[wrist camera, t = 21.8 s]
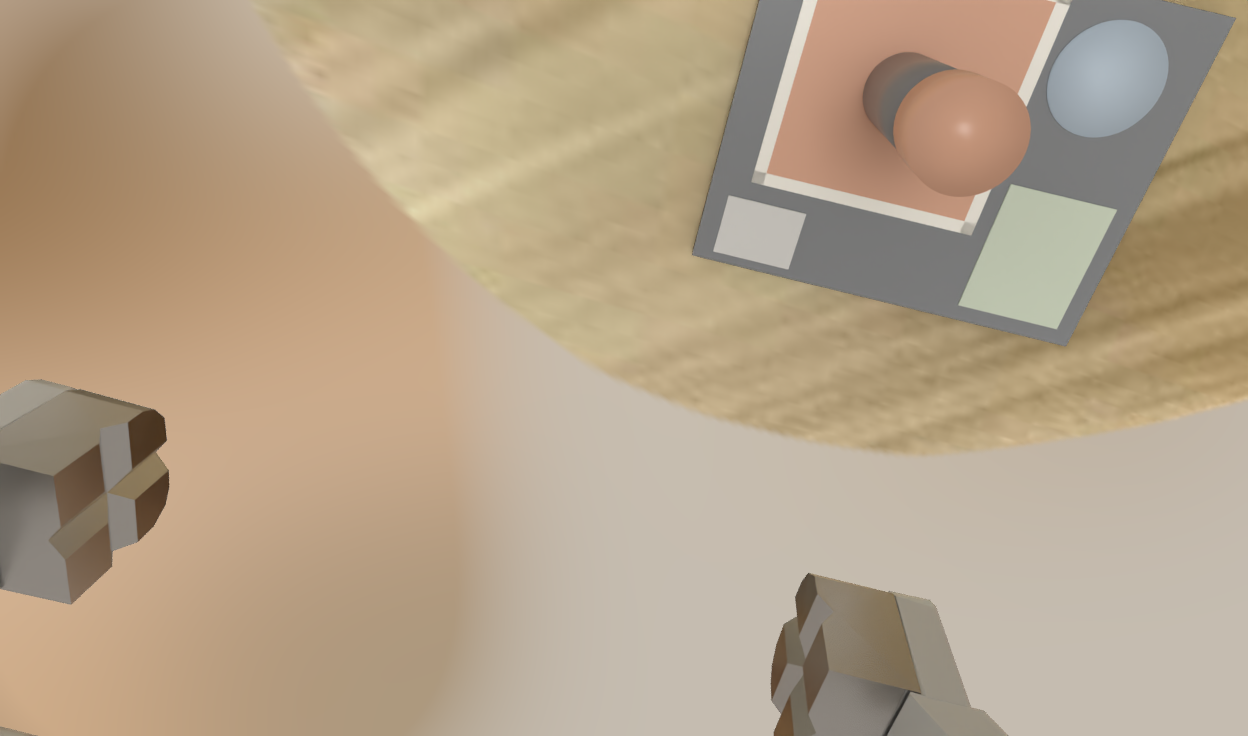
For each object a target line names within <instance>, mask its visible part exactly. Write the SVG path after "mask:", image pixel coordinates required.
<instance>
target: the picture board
mask: <svg viewBox="0 0 1248 736" xmlns="http://www.w3.org/2000/svg"><path fill="white" fill-rule="evenodd" d="M1235 19H1236V18H1233V17H1229V16H1225V15H1221V14H1217V13H1213V12H1208V11H1204V10H1200V9H1196V8H1192V7H1187V6H1183V5H1179V4H1175V3H1171V2H1166V1H1162V0H759V2H758V6H757V10H756V14H755V17H754V21H753V25H752V29H751V32H750V36H749V40H748V44H747V48H746V51H745V55H744V59H743V63H742V67H741V70H740V74H739V78H738V82H737V85H736V89H735V93H734V97H733V101H732V104H731V108H730V112H729V116H728V119H727V123H726V127H725V131H724V135H723V138H722V142H721V146H720V150H719V153H718V157H717V161H716V165H715V169H714V172H713V176H712V180H711V184H710V188H709V191H708V195H707V199H706V203H705V206H704V210H703V214H702V218H701V222H700V225H699V229H698V233H697V237H696V240H695V244H694V248H693V253H692V255H693V256H698V257H702V258H706V259H710V260H714V261H718V262H722V263H726V264H730V265H734V266H739V267H743V268H747V269H751V270H755V271H759V272H763V273H767V274H771V275H775V276H780V277H784V278H788V279H792V280H796V281H800V282H804V283H808V284H812V285H816V286H820V287H825V288H829V289H833V290H837V291H841V292H845V293H849V294H853V295H857V296H861V297H866V298H870V299H874V300H878V301H882V302H886V303H890V304H894V305H898V306H902V307H907V308H911V309H915V310H919V311H923V312H927V313H931V314H935V315H939V316H943V317H948V318H952V319H956V320H960V321H964V322H968V323H972V324H976V325H980V326H984V327H988V328H993V329H997V330H1001V331H1005V332H1009V333H1013V334H1017V335H1021V336H1025V337H1029V338H1034V339H1038V340H1042V341H1046V342H1050V343H1054V344H1058V345H1062V346H1066V345H1067V343H1068V342H1069V340H1070V338H1071V336H1072V334H1073V332H1074V330H1075V328H1076V326H1077V324H1078V322H1079V320H1080V318H1081V316H1082V315H1083V313H1084V311H1085V309H1086V307H1087V305H1088V303H1089V301H1090V299H1091V297H1092V295H1093V293H1094V291H1095V289H1096V287H1097V286H1098V284H1099V282H1100V280H1101V278H1102V276H1103V274H1104V272H1105V270H1106V268H1107V266H1108V264H1109V262H1110V260H1111V259H1112V257H1113V255H1114V253H1115V251H1116V249H1117V247H1118V245H1119V243H1120V241H1121V239H1122V237H1123V235H1124V233H1125V232H1126V230H1127V228H1128V226H1129V224H1130V222H1131V220H1132V218H1133V216H1134V214H1135V212H1136V210H1137V208H1138V206H1139V205H1140V203H1141V201H1142V199H1143V197H1144V195H1145V193H1146V191H1147V189H1148V187H1149V185H1150V183H1151V181H1152V179H1153V178H1154V176H1155V174H1156V172H1157V170H1158V168H1159V166H1160V164H1161V162H1162V160H1163V158H1164V156H1165V154H1166V152H1167V150H1168V149H1169V147H1170V145H1171V143H1172V141H1173V139H1174V137H1175V135H1176V133H1177V131H1178V129H1179V127H1180V125H1181V123H1182V122H1183V120H1184V118H1185V116H1186V114H1187V112H1188V110H1189V108H1190V106H1191V104H1192V102H1193V100H1194V98H1195V96H1196V95H1197V93H1198V91H1199V89H1200V87H1201V85H1202V83H1203V81H1204V79H1205V77H1206V75H1207V73H1208V71H1209V69H1210V68H1211V66H1212V64H1213V62H1214V60H1215V58H1216V56H1217V54H1218V52H1219V50H1220V48H1221V46H1222V44H1223V42H1224V41H1225V39H1226V37H1227V35H1228V33H1229V31H1230V29H1231V27H1232V25H1233V23H1234V21H1235ZM903 52H914V53H919V54H922V55H924V56H927V57H929V58H932V59H934V60H937V61H939V62H942V63H944V64H946V65H949V66H951V67H954V68H956V69H961V70H968V71H971V72H975V73H977V74H980V75H982V76H985V77H987V78H990V79H992V80H995V81H998V82H1000V83H1002V84H1004V85H1006V86H1008V87H1009V88H1011V89H1012V90H1014V91H1015V92H1016V93H1017V94H1018V95H1019V97H1020V98H1021V99H1022V100H1023V102H1024V104H1025V106H1026V108H1027V110H1028V113H1029V117H1030V123H1031V134H1030V140H1029V145H1028V148H1027V151H1026V153H1025V155H1024V157H1023V159H1022V161H1021V162H1020V164H1019V166H1018V167H1017V168H1016V169H1015V171H1014V172H1013V173H1012V174H1011V175H1010V176H1009V177H1008V178H1007V179H1006V180H1004V181H1003V182H1002V183H1001V184H999V185H998V186H996V187H994V188H993V189H991V190H988V191H986V192H984V193H981V194H978V195H973V196H967V197H953V196H947V195H943V194H940V193H938V192H936V191H934V190H932V189H930V188H929V187H927V186H926V185H925V184H924V183H923V182H922V181H921V180H920V179H919V178H918V177H917V176H916V174H915V173H914V172H913V171H912V170H911V169H910V168H909V167H908V166H907V164H906V163H905V162H904V161H903V160H902V158H901V157H900V155H899V154H898V151H897V149H896V148H895V147H894V146H893V145H892V144H891V143H890V142H889V141H888V139H887V138H886V137H885V136H884V135H883V134H882V133H881V132H880V131H879V130H878V129H877V128H876V126H875V125H874V124H873V123H872V122H871V121H870V120H869V118H868V117H867V115H866V112H865V110H864V106H863V90H864V86H865V83H866V81H867V79H868V77H869V75H870V74H871V72H872V71H873V69H874V68H875V67H876V66H877V65H878V64H879V63H880V62H882V61H883V60H885V59H886V58H888V57H890V56H892V55H895V54H898V53H903Z"/></svg>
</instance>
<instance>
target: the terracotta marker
mask: <svg viewBox="0 0 1248 736" xmlns="http://www.w3.org/2000/svg"><path fill="white" fill-rule="evenodd" d="M863 106H864V110H865V112H866V115H867V117H868V118H869V120H870V121H871V122H872V123H873V124H874V125H875V126H876V128H877V129H878V130H879V131H880V132H881V133H882V134H883V135H884V136H885V137H886V138H887V139H888V141H889V142H890V143H891V144H892V145H893V146H894V147H895V148H896V149H897V151H898V154H899V155H900V157H901V158H902V160H903V161H904V162H905V163H906V164H907V166H908V167H909V168H910V169H911V170H912V171H913V172H914V173H915V174H916V176H917V177H918V178H919V179H920V180H921V181H922V182H923V183H924V184H925V185H926V186H927V187H929V188H930V189H932V190H934V191H936V192H938V193H940V194H943V195H947V196H953V197H967V196H973V195H978V194H981V193H984V192H986V191H988V190H991V189H993V188H994V187H996V186H998V185H999V184H1001V183H1002V182H1003V181H1004V180H1006V179H1007V178H1008V177H1009V176H1010V175H1011V174H1012V173H1013V172H1014V171H1015V169H1016V168H1017V167H1018V166H1019V164H1020V162H1021V161H1022V159H1023V157H1024V155H1025V153H1026V151H1027V148H1028V145H1029V140H1030V134H1031V123H1030V117H1029V113H1028V110H1027V108H1026V106H1025V104H1024V102H1023V100H1022V99H1021V98H1020V97H1019V95H1018V94H1017V93H1016V92H1015V91H1014V90H1012V89H1011V88H1009V87H1008V86H1006V85H1004V84H1002V83H1000V82H998V81H995V80H992V79H990V78H987V77H985V76H982V75H980V74H977V73H975V72H971V71H968V70H961V69H956V68H954V67H951V66H949V65H946V64H944V63H942V62H939V61H937V60H934V59H932V58H929V57H927V56H924V55H922V54H919V53H914V52H903V53H898V54H895V55H892V56H890V57H888V58H886V59H885V60H883V61H882V62H880V63H879V64H878V65H877V66H876V67H875V68H874V69H873V71H872V72H871V74H870V75H869V77H868V79H867V81H866V83H865V86H864V90H863Z"/></svg>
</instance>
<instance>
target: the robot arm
mask: <svg viewBox="0 0 1248 736" xmlns="http://www.w3.org/2000/svg"><path fill="white" fill-rule="evenodd" d="M166 441H167V437H166V428H165V418H164V417H163V416H162V415H161V414H159V413H158V412H157V411H156V410H154V409H151V408H147V407H143V406H140V405H136V404H132V403H129V402H125V401H121V400H118V399H114V398H110V397H106V396H103V395H99V394H95V393H92V392H88V391H85V390H81V389H79V390H77V389H75V388H72V387H68V386H65V385H61V384H56V383H53V382H49V381H45V380H25V381H24V382H22V383H20V384H18V385H16V386H15V387H13V388H11V389H9V390H8V391H6V392H4V393H2V394H0V589H3V590H7V591H12V592H16V593H21V594H26V595H30V596H35V597H39V598H44V599H48V600H53V601H57V602H62V603H67V604H72V603H73V602H74V601H76V600H77V599H78V598H79V597H80V596H81V595H82V594H83V593H84V592H85V591H86V590H87V589H88V588H89V587H91V586H92V585H93V584H94V583H95V582H96V581H97V580H98V579H99V578H100V577H101V576H102V575H103V574H104V573H106V572H107V571H108V570H109V569H110V568H111V567H112V552H113V551H114V550H117V549H119V548H122V547H125V546H128V545H131V544H134V543H137V542H138V541H139V540H140V539H141V538H142V537H143V536H144V535H145V534H146V533H147V532H148V531H149V530H150V529H151V528H152V527H154V525H155V523H156V521H157V519H158V517H159V516H160V514H161V512H162V510H163V508H164V507H165V505H166V500H167V495H168V490H169V470H168V469H167V467H166V466H165V464H164V463H163V462H162V460H161V459H160V457H159V456H158V455H157V453H156V451H157V450H158V449H159V448H160V447H161V446H162V445H163V444H164V443H165V442H166ZM795 601H796V610H797V617H795V618H793V619H792V620H790V621H788V622H786V623H785V624H784V625H783V628H782V631H781V634H780V636H779V639H778V642H777V644H776V649H775V654H774V658H773V663H772V672H771V700H772V702H773V704H774V705H775V706H776V708H777V709H778V710H779V712H780V713H781V716H780V718H779V721H778V723H777V725H776V728H775V730H774V736H1008V735H1007V734H1006V733H1005V732H1004V731H1003V730H1002V729H1001V728H1000V727H999V726H998V725H997V724H996V723H995V722H994V721H993V720H992V719H991V718H990V717H989V716H988V715H987V714H986V712H985V711H983V710H979V709H975V708H971V706H970V703H969V700H968V697H967V695H966V692H965V689H964V686H963V683H962V680H961V677H960V674H959V672H958V669H957V666H956V663H955V660H954V657H953V654H952V652H951V649H950V646H949V643H948V640H947V637H946V634H945V631H944V628H943V626H942V623H941V620H940V617H939V614H938V611H937V608H936V606H935V605H934V604H933V603H932V602H931V601H930V600H927V599H923V598H918V597H913V596H908V595H905V594H900V593H895V592H890V591H889V592H885V591H880V590H876V589H872V588H868V587H864V586H860V585H856V584H852V583H848V582H844V581H840V580H835V579H832V578H827V577H823V576H819V575H815V574H811V573H808V574H807V575H806V577H805V578H804V579H803V581H802V582H801V585H800V587H799V589H798V592H797V594H796V596H795ZM0 736H36V735H32V734H28V733H24V732H20V731H16V730H12V729H8V728H4V727H0Z"/></svg>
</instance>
